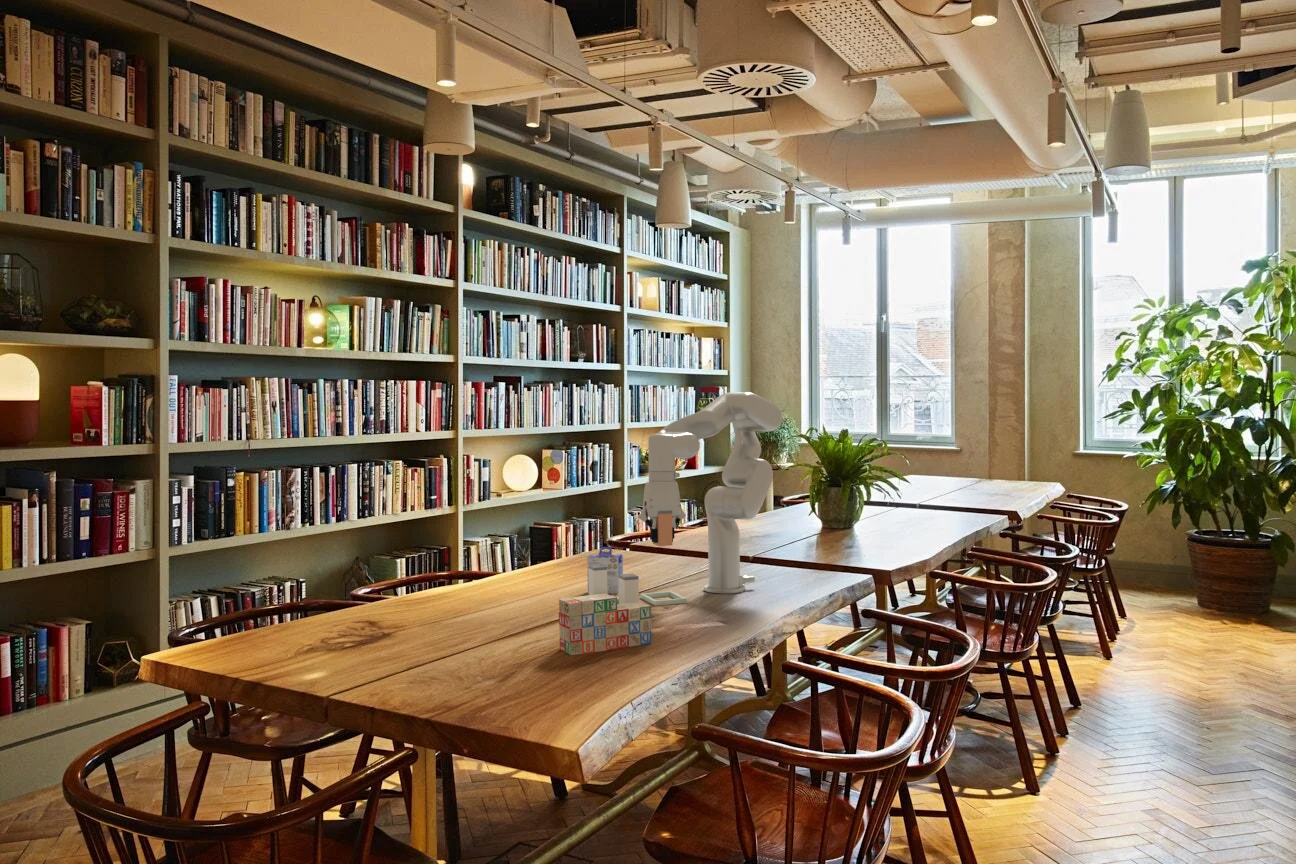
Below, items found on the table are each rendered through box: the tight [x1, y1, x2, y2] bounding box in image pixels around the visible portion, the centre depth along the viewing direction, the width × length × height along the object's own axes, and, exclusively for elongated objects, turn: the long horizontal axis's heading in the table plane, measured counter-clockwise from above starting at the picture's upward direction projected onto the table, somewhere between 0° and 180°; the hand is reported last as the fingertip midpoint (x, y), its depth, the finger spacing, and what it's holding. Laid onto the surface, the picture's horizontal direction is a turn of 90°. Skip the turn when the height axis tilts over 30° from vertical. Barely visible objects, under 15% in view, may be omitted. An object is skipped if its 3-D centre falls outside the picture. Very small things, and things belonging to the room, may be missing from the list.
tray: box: [639, 590, 688, 606], centre depth 287 cm, size 10×12×2 cm
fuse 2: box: [618, 573, 640, 604], centre depth 274 cm, size 4×5×10 cm
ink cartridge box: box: [586, 546, 624, 595], centre depth 301 cm, size 10×6×14 cm, turn 78°
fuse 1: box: [588, 564, 607, 595], centre depth 289 cm, size 4×5×10 cm
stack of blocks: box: [558, 593, 652, 656], centre depth 239 cm, size 21×6×12 cm, turn 118°
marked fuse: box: [652, 511, 673, 547], centre depth 286 cm, size 4×5×10 cm
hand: (662, 541), depth 286 cm, fingers closed on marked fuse, 4 cm apart
